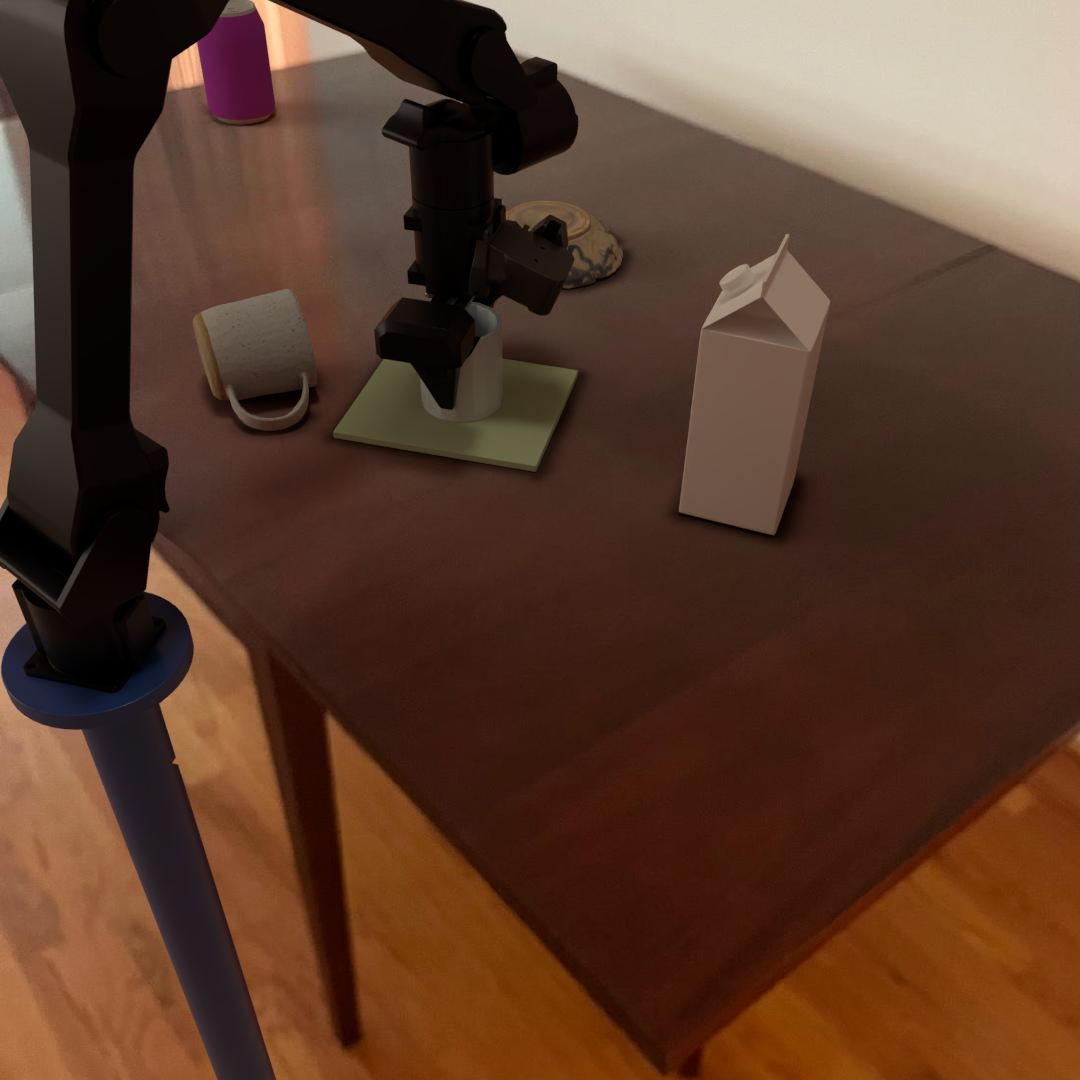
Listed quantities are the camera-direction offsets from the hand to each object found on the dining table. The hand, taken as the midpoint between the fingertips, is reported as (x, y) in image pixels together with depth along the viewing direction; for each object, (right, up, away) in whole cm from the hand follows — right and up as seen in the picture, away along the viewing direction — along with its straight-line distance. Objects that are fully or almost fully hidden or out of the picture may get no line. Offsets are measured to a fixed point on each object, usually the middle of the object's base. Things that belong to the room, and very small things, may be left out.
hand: (460, 385), depth 90 cm
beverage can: (-31, +40, +45) cm, 68 cm away
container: (0, -1, +1) cm, 1 cm away
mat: (0, -1, +1) cm, 2 cm away
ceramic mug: (-15, -1, +1) cm, 15 cm away
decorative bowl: (+6, +17, +22) cm, 28 cm away
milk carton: (+21, -10, -6) cm, 24 cm away
